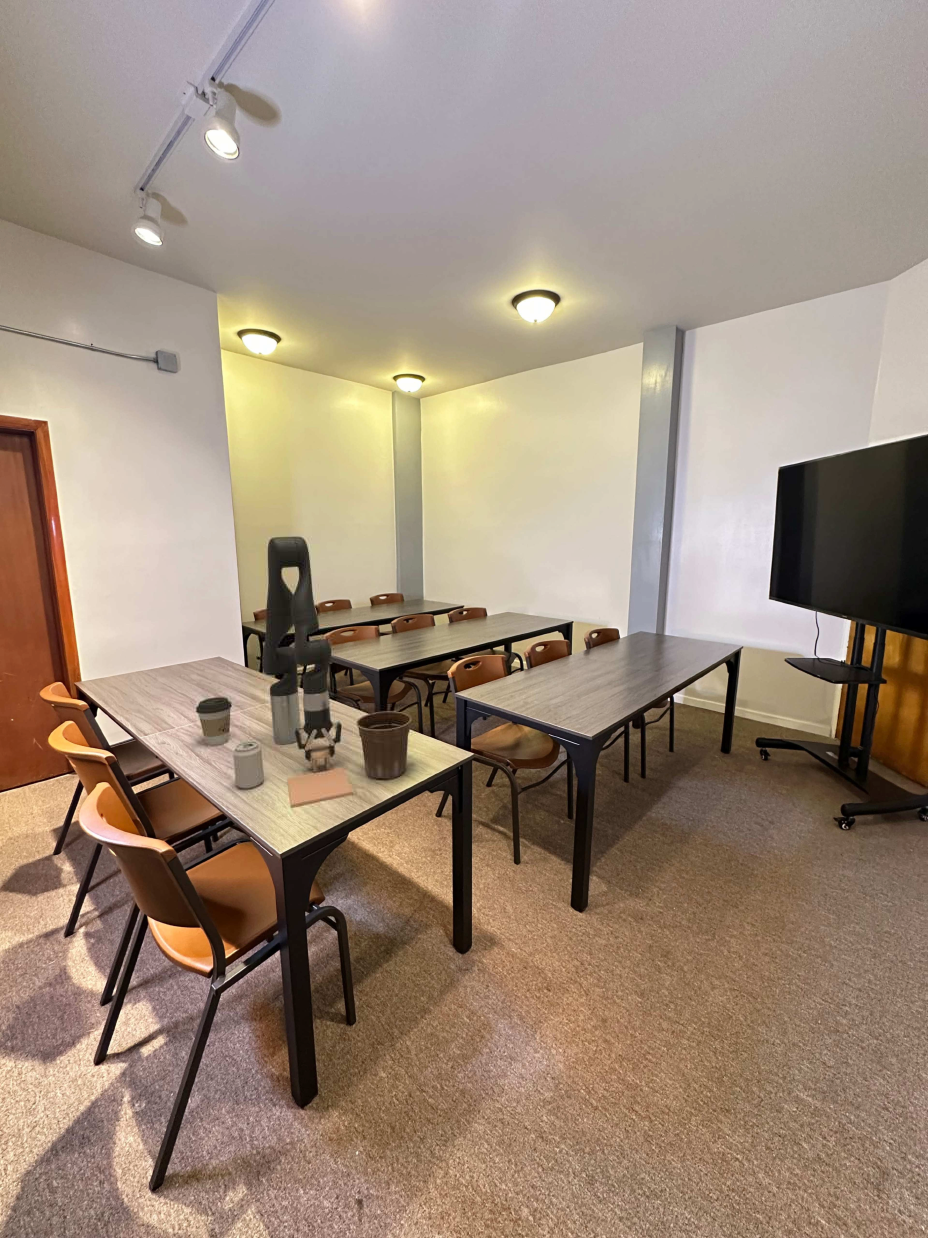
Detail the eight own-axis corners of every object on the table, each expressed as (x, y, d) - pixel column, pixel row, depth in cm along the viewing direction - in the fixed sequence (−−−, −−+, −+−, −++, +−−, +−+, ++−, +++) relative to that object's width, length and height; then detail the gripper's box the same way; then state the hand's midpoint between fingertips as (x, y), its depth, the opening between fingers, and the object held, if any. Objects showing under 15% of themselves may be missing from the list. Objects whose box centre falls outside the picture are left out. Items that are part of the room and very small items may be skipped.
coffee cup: (220, 749, 165) (216, 707, 163) (191, 747, 168) (187, 705, 165) (242, 736, 176) (238, 696, 174) (214, 734, 179) (210, 695, 176)
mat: (287, 781, 142) (287, 778, 142) (343, 770, 148) (343, 767, 148) (291, 807, 127) (291, 805, 127) (352, 794, 133) (352, 791, 133)
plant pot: (388, 754, 158) (386, 707, 156) (424, 768, 148) (422, 717, 146) (348, 773, 146) (345, 722, 143) (384, 789, 136) (381, 734, 133)
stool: (310, 766, 151) (308, 747, 150) (329, 763, 153) (328, 743, 152) (312, 774, 145) (310, 754, 144) (332, 770, 148) (331, 751, 147)
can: (268, 777, 144) (264, 739, 143) (258, 789, 137) (254, 749, 135) (242, 778, 144) (239, 739, 142) (231, 791, 137) (227, 750, 135)
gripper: (339, 698, 152) (342, 749, 155) (290, 705, 147) (294, 758, 149) (342, 705, 145) (346, 758, 148) (292, 713, 140) (296, 768, 142)
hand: (320, 758), depth 149 cm, fingers closed on stool, 6 cm apart
